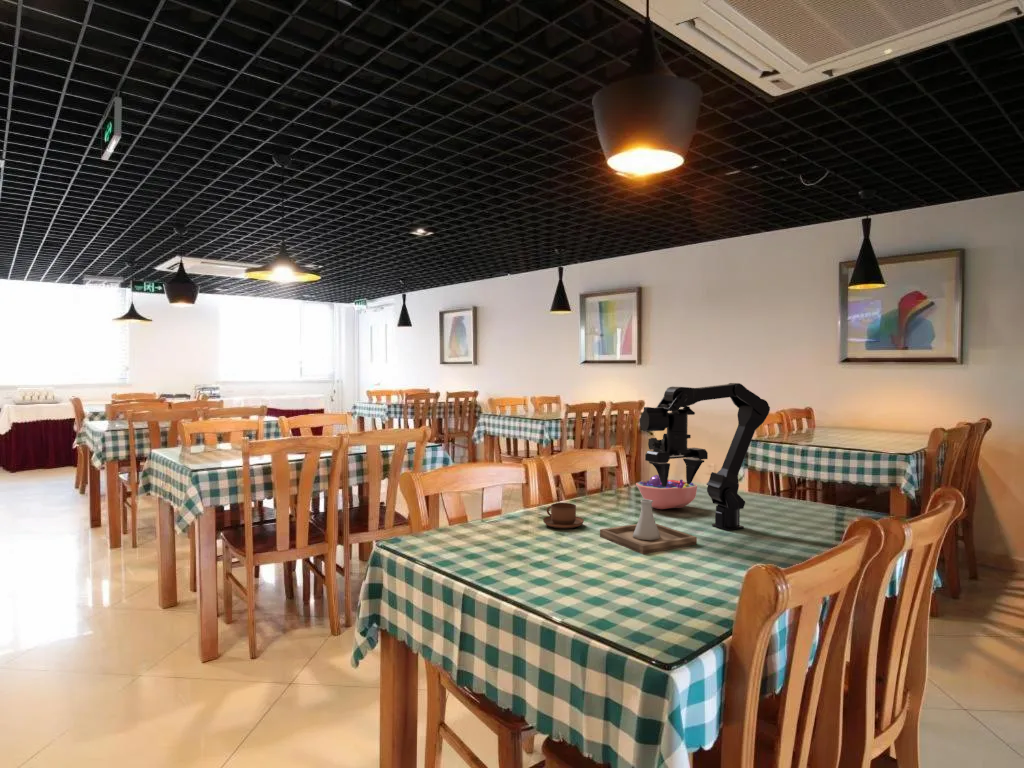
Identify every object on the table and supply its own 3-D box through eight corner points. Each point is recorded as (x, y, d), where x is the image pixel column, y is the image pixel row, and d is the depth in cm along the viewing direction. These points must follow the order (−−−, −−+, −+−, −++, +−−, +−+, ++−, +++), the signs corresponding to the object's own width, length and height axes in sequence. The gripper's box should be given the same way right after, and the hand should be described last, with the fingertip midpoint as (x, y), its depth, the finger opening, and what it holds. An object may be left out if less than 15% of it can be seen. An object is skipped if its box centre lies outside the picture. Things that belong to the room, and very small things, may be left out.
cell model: (704, 514, 192) (704, 479, 192) (641, 514, 192) (641, 479, 192) (689, 503, 209) (689, 470, 209) (631, 503, 209) (631, 470, 209)
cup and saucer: (537, 529, 175) (537, 508, 175) (550, 519, 186) (550, 499, 186) (577, 533, 170) (577, 511, 170) (588, 523, 182) (588, 503, 181)
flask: (652, 542, 157) (652, 504, 157) (627, 537, 162) (627, 500, 162) (665, 537, 163) (665, 500, 162) (641, 532, 167) (641, 496, 167)
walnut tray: (651, 528, 174) (651, 521, 174) (696, 544, 158) (696, 536, 158) (600, 536, 166) (600, 529, 166) (642, 554, 150) (642, 546, 150)
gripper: (681, 427, 183) (681, 478, 183) (632, 429, 175) (632, 483, 175) (709, 430, 173) (708, 484, 174) (659, 433, 165) (658, 489, 165)
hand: (676, 485), depth 172 cm, fingers open, 9 cm apart
